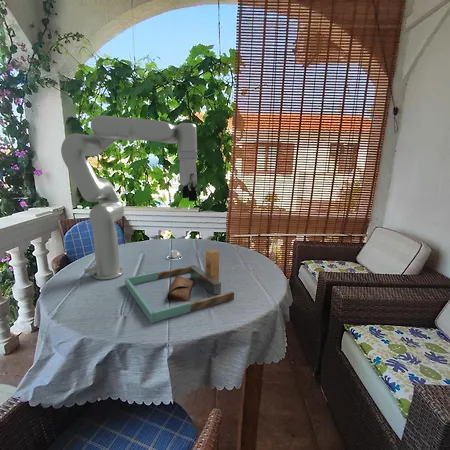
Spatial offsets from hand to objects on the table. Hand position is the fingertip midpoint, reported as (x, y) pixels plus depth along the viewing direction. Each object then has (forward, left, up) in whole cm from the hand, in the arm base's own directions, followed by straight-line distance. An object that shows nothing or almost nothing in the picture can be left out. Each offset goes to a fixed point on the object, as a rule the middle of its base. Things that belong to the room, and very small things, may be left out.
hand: (189, 199), depth 117 cm
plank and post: (+4, -9, -34) cm, 36 cm away
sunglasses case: (-8, -9, -35) cm, 37 cm away
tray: (-19, -9, -34) cm, 40 cm away
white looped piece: (+8, +28, -35) cm, 45 cm away
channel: (-3, -9, -34) cm, 36 cm away
